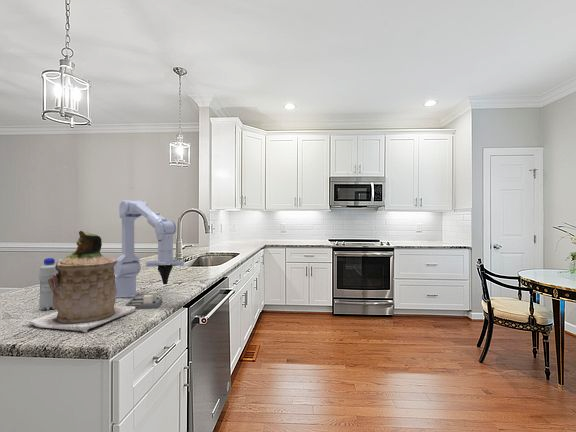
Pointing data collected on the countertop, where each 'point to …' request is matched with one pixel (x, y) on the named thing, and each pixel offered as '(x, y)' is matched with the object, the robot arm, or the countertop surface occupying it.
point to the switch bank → (139, 304)
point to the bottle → (46, 284)
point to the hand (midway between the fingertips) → (165, 283)
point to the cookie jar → (83, 289)
